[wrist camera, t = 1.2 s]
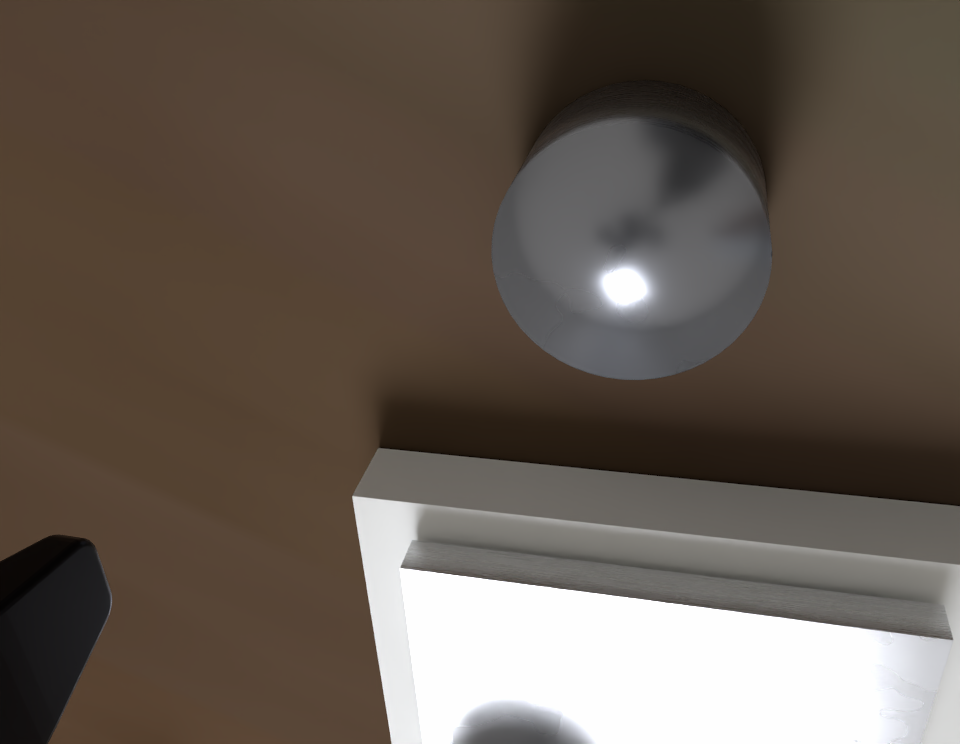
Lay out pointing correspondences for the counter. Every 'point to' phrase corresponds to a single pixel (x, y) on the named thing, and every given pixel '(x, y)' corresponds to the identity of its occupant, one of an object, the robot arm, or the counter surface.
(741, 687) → the pan
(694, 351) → the steel cup
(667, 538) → the scale
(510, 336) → the counter surface
